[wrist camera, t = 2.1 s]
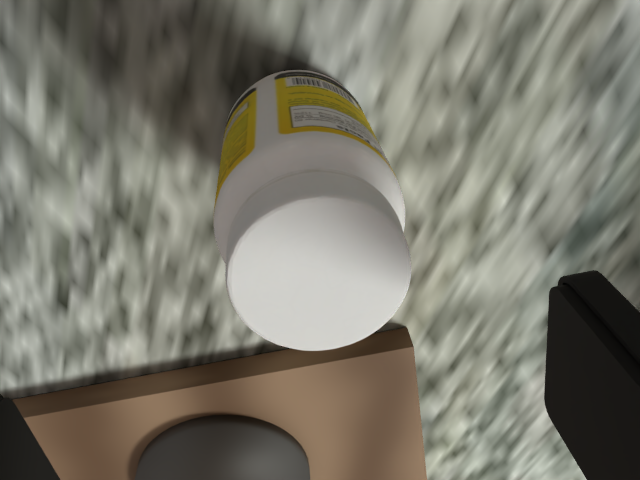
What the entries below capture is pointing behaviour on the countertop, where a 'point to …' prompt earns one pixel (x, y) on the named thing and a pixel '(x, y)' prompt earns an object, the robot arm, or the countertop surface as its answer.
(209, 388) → the pin board
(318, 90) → the supplement bottle
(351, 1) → the countertop surface
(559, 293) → the robot arm
